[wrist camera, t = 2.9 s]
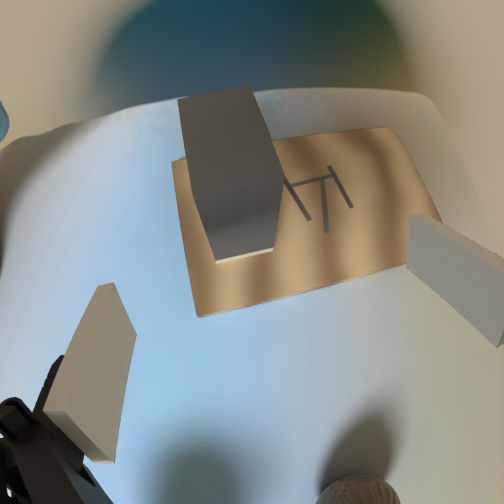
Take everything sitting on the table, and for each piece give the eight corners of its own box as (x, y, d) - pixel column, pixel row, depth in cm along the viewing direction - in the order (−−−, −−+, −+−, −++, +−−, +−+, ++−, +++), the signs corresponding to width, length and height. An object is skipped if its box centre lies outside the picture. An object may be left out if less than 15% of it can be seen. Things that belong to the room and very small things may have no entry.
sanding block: (200, 187, 29) (177, 99, 19) (251, 176, 30) (249, 85, 19) (216, 263, 26) (192, 195, 16) (273, 250, 27) (284, 175, 16)
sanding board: (199, 317, 26) (196, 315, 25) (173, 168, 31) (171, 161, 30) (446, 250, 28) (452, 246, 27) (388, 133, 34) (391, 126, 32)
